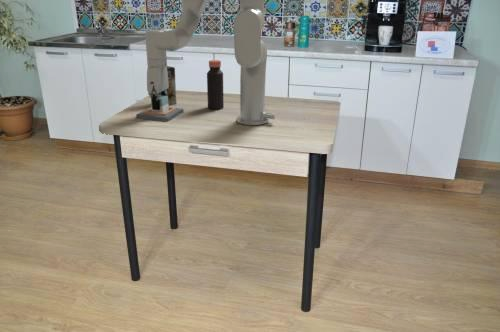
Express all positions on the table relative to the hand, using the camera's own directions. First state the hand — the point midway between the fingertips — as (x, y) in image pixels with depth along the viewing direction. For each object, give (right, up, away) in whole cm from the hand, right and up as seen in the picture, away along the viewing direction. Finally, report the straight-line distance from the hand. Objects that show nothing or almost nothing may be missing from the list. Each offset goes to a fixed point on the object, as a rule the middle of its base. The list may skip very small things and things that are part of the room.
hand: (160, 107), depth 190 cm
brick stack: (0, -2, +1) cm, 2 cm away
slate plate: (0, -3, +1) cm, 3 cm away
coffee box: (-2, +3, +18) cm, 19 cm away
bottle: (+22, +1, +12) cm, 25 cm away
